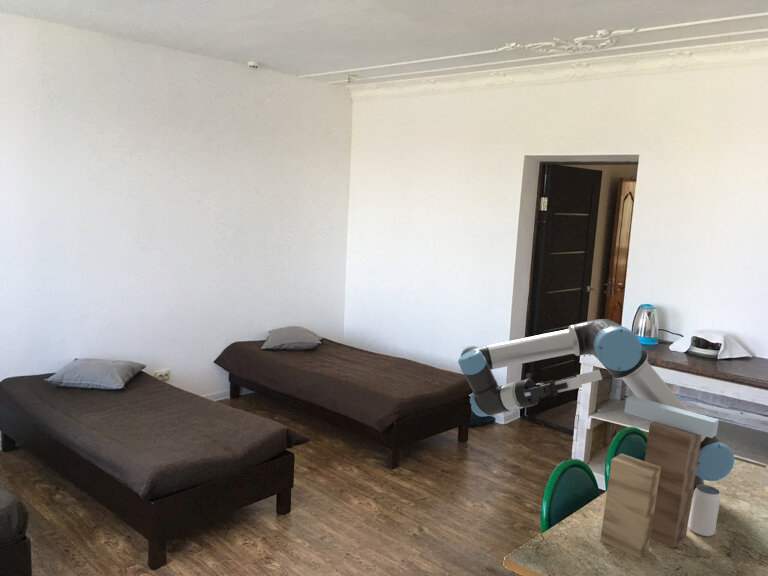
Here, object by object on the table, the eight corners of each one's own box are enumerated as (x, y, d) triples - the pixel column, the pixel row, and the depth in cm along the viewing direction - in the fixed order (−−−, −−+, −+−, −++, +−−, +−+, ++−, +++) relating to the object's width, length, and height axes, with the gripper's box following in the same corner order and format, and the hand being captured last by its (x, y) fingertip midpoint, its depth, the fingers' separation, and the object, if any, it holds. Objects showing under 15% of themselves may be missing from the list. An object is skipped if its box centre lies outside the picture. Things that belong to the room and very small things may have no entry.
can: (717, 539, 165) (724, 496, 163) (691, 534, 166) (698, 492, 164) (710, 527, 171) (716, 486, 169) (685, 522, 172) (691, 482, 171)
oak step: (610, 532, 163) (621, 453, 160) (648, 549, 156) (661, 466, 153) (600, 540, 159) (611, 459, 156) (639, 558, 152) (652, 473, 149)
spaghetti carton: (624, 412, 168) (626, 398, 168) (630, 409, 171) (632, 395, 171) (711, 438, 154) (714, 422, 153) (716, 434, 156) (718, 419, 156)
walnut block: (648, 519, 172) (663, 416, 168) (686, 535, 165) (703, 427, 161) (634, 531, 165) (649, 423, 161) (673, 548, 158) (690, 435, 154)
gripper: (544, 400, 184) (612, 385, 171) (502, 415, 165) (575, 400, 152) (536, 375, 185) (603, 358, 172) (494, 388, 166) (566, 370, 153)
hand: (590, 378), depth 162 cm, fingers open, 13 cm apart
